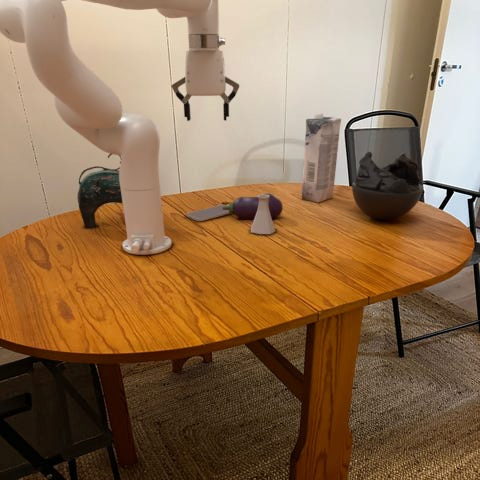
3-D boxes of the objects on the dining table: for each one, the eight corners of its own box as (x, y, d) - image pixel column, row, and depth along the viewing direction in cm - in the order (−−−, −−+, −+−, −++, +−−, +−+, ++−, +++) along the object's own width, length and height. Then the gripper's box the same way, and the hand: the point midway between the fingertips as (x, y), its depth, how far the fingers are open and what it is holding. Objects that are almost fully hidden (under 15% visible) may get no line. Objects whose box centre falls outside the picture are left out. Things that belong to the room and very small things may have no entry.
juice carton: (336, 198, 155) (345, 113, 142) (319, 204, 149) (326, 116, 135) (315, 193, 161) (321, 111, 147) (297, 199, 154) (302, 114, 140)
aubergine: (283, 221, 133) (284, 196, 130) (222, 222, 133) (222, 197, 129) (281, 214, 140) (281, 190, 136) (223, 214, 139) (222, 191, 136)
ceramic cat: (149, 217, 138) (141, 149, 128) (152, 223, 132) (144, 153, 122) (82, 224, 132) (68, 153, 122) (82, 230, 127) (68, 157, 117)
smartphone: (185, 213, 138) (224, 204, 146) (185, 216, 138) (224, 207, 146) (198, 219, 133) (238, 209, 141) (198, 222, 133) (238, 212, 141)
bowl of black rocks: (430, 221, 133) (445, 155, 123) (386, 234, 123) (398, 163, 114) (378, 205, 147) (387, 145, 138) (334, 216, 137) (341, 152, 128)
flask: (272, 236, 122) (273, 200, 117) (247, 233, 124) (247, 198, 119) (278, 228, 128) (279, 193, 123) (254, 225, 130) (254, 191, 125)
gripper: (238, 44, 112) (239, 118, 121) (170, 44, 112) (175, 118, 121) (239, 43, 106) (239, 121, 114) (166, 43, 105) (172, 122, 114)
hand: (207, 120), depth 118 cm, fingers open, 9 cm apart
